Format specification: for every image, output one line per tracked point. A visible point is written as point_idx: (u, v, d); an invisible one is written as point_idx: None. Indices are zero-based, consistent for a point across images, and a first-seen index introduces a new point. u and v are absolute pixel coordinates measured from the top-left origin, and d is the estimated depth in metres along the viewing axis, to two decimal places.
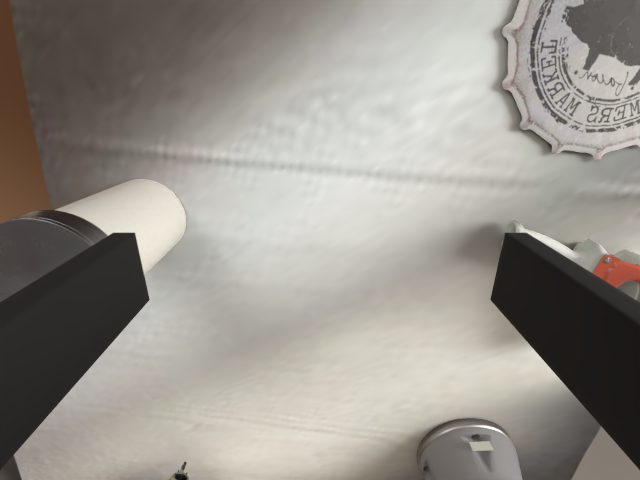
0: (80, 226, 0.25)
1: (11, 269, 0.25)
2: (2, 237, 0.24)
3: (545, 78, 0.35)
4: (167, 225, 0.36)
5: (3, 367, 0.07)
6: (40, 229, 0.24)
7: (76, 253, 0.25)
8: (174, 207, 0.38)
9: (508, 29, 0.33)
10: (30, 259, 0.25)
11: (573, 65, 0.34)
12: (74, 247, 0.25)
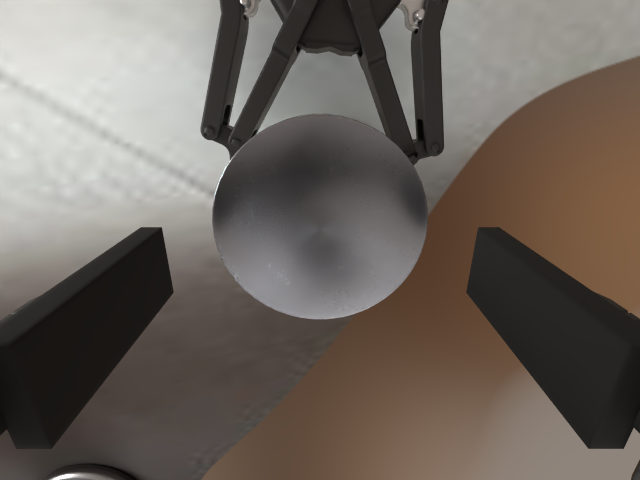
0: None
1: (351, 267, 0.17)
2: (324, 305, 0.18)
3: None
4: None
5: (56, 349, 0.07)
6: (268, 292, 0.17)
7: (244, 245, 0.16)
8: None
9: None
10: (313, 267, 0.17)
11: None
12: (240, 253, 0.17)
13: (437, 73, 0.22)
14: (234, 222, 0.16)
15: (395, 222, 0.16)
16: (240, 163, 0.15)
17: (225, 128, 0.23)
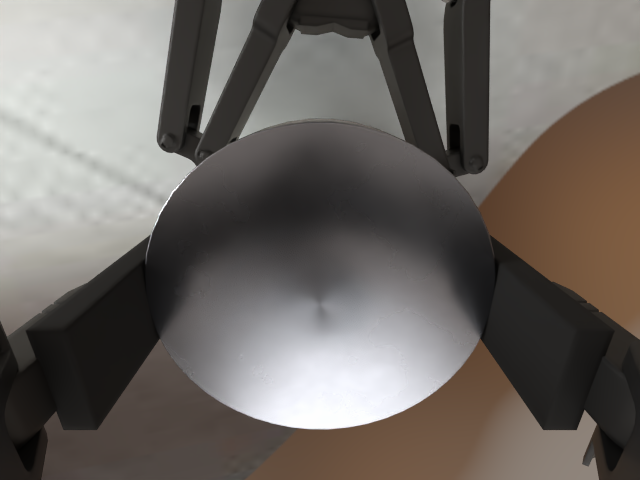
0: None
1: (369, 359, 0.11)
2: (326, 411, 0.12)
3: None
4: None
5: (101, 336, 0.08)
6: (240, 394, 0.11)
7: (199, 328, 0.10)
8: None
9: None
10: (310, 359, 0.11)
11: None
12: (194, 339, 0.10)
13: (483, 61, 0.15)
14: (181, 295, 0.10)
15: (442, 295, 0.10)
16: (185, 203, 0.09)
17: (191, 136, 0.17)
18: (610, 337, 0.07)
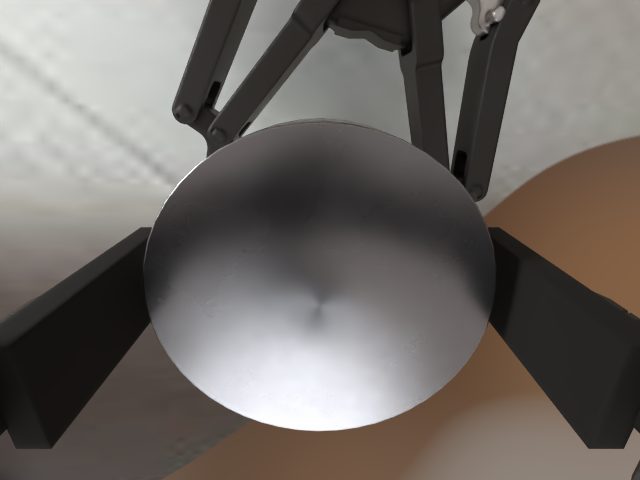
0: None
1: (381, 246, 0.09)
2: (464, 275, 0.10)
3: None
4: None
5: (56, 350, 0.07)
6: (443, 359, 0.11)
7: (365, 395, 0.11)
8: None
9: None
10: (389, 303, 0.10)
11: None
12: (378, 398, 0.11)
13: (501, 97, 0.16)
14: (332, 408, 0.11)
15: (281, 190, 0.09)
16: (248, 408, 0.11)
17: (207, 112, 0.17)
18: None
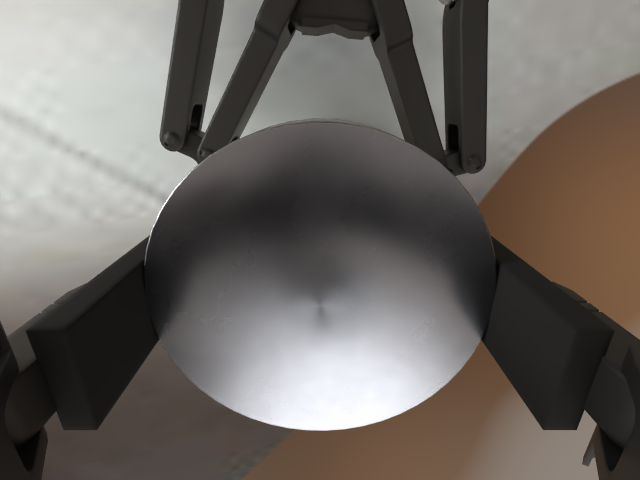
0: None
1: (368, 236, 0.09)
2: (459, 251, 0.09)
3: None
4: None
5: (101, 336, 0.08)
6: (456, 340, 0.10)
7: (384, 387, 0.11)
8: None
9: None
10: (389, 292, 0.10)
11: None
12: (398, 388, 0.11)
13: (481, 62, 0.16)
14: (354, 405, 0.11)
15: (258, 199, 0.09)
16: (273, 416, 0.12)
17: (194, 135, 0.17)
18: (610, 337, 0.07)
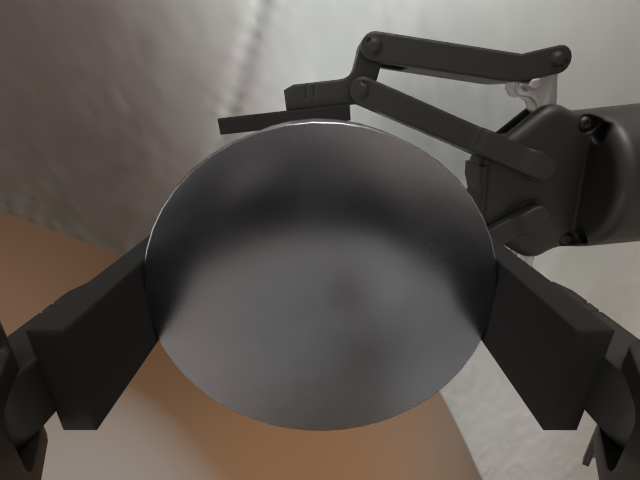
0: None
1: (368, 236, 0.09)
2: (460, 252, 0.09)
3: None
4: None
5: (100, 336, 0.08)
6: (455, 340, 0.10)
7: (384, 387, 0.11)
8: None
9: None
10: (389, 292, 0.10)
11: None
12: (398, 389, 0.11)
13: None
14: (353, 405, 0.11)
15: (258, 199, 0.09)
16: (272, 416, 0.12)
17: (377, 69, 0.16)
18: (610, 337, 0.07)
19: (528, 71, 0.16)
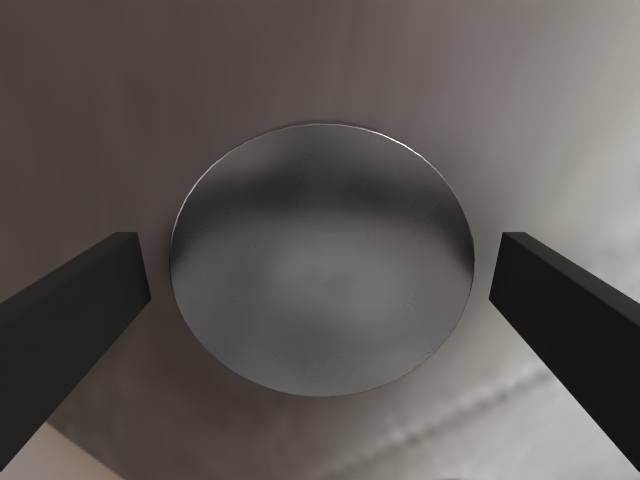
0: None
1: (363, 221, 0.11)
2: (442, 234, 0.11)
3: None
4: None
5: (8, 365, 0.07)
6: (440, 313, 0.12)
7: (378, 356, 0.13)
8: None
9: None
10: (381, 270, 0.11)
11: None
12: (391, 357, 0.13)
13: None
14: (351, 373, 0.13)
15: (269, 189, 0.10)
16: (280, 383, 0.13)
17: None
18: None
19: None
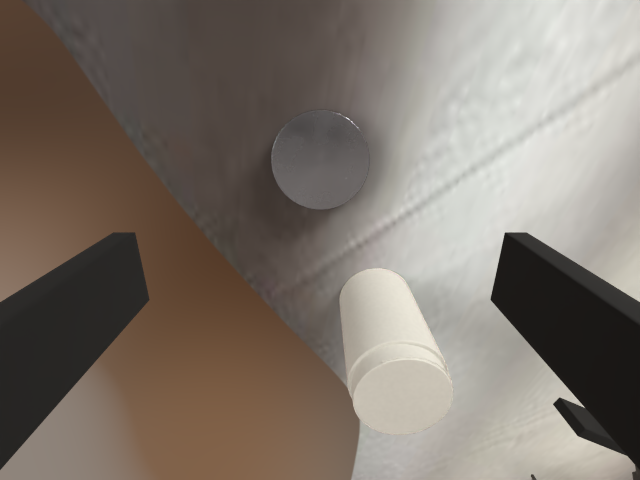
0: None
1: (333, 140, 0.34)
2: (358, 145, 0.34)
3: None
4: (410, 297, 0.38)
5: (3, 367, 0.07)
6: (360, 174, 0.36)
7: (340, 191, 0.36)
8: (396, 279, 0.40)
9: None
10: (339, 158, 0.35)
11: None
12: (344, 192, 0.36)
13: None
14: (331, 198, 0.37)
15: (304, 130, 0.34)
16: (305, 203, 0.37)
17: None
18: None
19: None
